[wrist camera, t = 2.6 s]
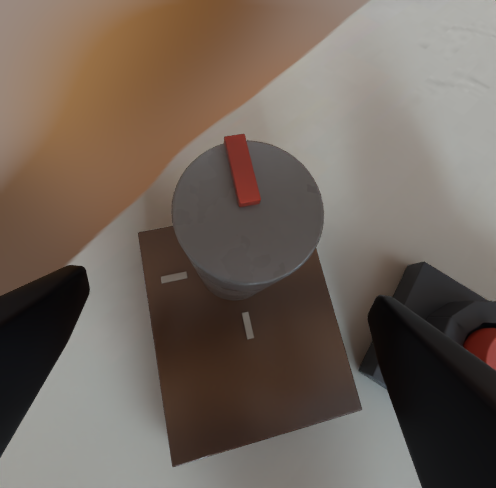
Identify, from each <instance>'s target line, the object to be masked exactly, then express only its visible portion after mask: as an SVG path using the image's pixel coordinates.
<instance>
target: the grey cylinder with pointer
mask: <svg viewBox="0 0 496 488" xmlns="http://www.w3.org/2000/svg"><path fill="white" fill-rule="evenodd" d="M172 222H173V227H174V231H175V234H176V236H177V239H178V241H179V243H180V245H181V246H182V248H183V250H184V252H185V253H186V255H187V257H188V258H189V260H190V261H191V263H192V265H193V266H194V268H195V270H196V271H197V273H198V275H199V276H200V278H201V280H202V281H203V283H204V284H205V286H206V287H207V288H208V289H209V290H210V291H211V292H212V293H213V294H214V295H216V296H218V297H220V298H222V299H226V300H232V301H235V300H243V299H246V298H249V297H251V296H253V295H254V294H256V293H258V292H260V291H262V290H263V289H265V288H267V287H269V286H271V285H272V284H274V283H276V282H278V281H280V280H281V279H283V278H285V277H287V276H288V275H290V274H292V273H293V272H295V271H296V270H297V269H299V268H300V267H301V266H302V265H303V264H304V263H305V262H306V261H307V260H308V259H309V258H310V256H311V255H312V253H313V252H314V250H315V248H316V246H317V244H318V242H319V240H320V237H321V234H322V229H323V223H324V209H323V202H322V198H321V194H320V191H319V189H318V186H317V184H316V182H315V180H314V178H313V177H312V175H311V174H310V173H309V171H308V170H307V169H306V168H305V167H304V165H303V164H302V163H301V162H299V161H298V160H297V159H296V158H295V157H293V156H292V155H291V154H289V153H288V152H286V151H284V150H282V149H280V148H278V147H275V146H273V145H270V144H267V143H263V142H257V141H246V138H245V134H239V135H232V136H225V137H224V144H221V145H218V146H215V147H213V148H211V149H209V150H207V151H206V152H204V153H203V154H201V155H200V156H198V157H197V158H196V159H195V160H194V161H193V162H192V163H191V164H190V165H189V166H188V167H187V168H186V170H185V171H184V173H183V174H182V176H181V177H180V179H179V181H178V183H177V185H176V188H175V191H174V195H173V200H172Z"/></svg>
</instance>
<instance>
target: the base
mask: <svg viewBox="0 0 496 488" xmlns="http://www.w3.org/2000/svg"><path fill="white" fill-rule="evenodd" d="M138 237H139V243H140V250H141V257H142V264H143V271H144V277H145V284H146V291H147V298H148V305H149V311H150V318H151V325H152V332H153V339H154V345H155V352H156V359H157V366H158V373H159V379H160V386H161V393H162V400H163V407H164V413H165V420H166V427H167V434H168V441H169V447H170V454H171V461H172V466H173V467H176V466H179V465H182V464H186V463H189V462H192V461H196V460H199V459H202V458H205V457H209V456H212V455H215V454H219V453H222V452H225V451H229V450H232V449H235V448H238V447H242V446H245V445H248V444H252V443H255V442H258V441H261V440H265V439H268V438H271V437H275V436H278V435H281V434H285V433H288V432H291V431H294V430H298V429H301V428H304V427H308V426H311V425H314V424H317V423H321V422H324V421H327V420H331V419H334V418H337V417H341V416H344V415H347V414H350V413H354V412H357V411H360V410H362V407H361V403H360V400H359V397H358V393H357V390H356V386H355V383H354V379H353V376H352V372H351V369H350V365H349V362H348V358H347V355H346V351H345V348H344V344H343V341H342V337H341V334H340V330H339V327H338V323H337V320H336V316H335V313H334V309H333V306H332V302H331V299H330V295H329V292H328V288H327V285H326V281H325V278H324V274H323V271H322V267H321V264H320V260H319V257H318V253H317V250H316V248H315V250H314V252H313V253H312V255H311V256H310V258H309V259H308V260H307V261H306V262H305V263H304V264H303V265H302V266H301V267H300V268H299V269H297V270H296V271H295V272H293V273H292V274H290V275H288V276H287V277H285V278H283V279H281V280H280V281H278V282H276V283H274V284H272V285H271V286H269V287H267V288H265V289H263V290H262V291H260V292H258V293H256V294H254V295H253V296H251V297H249V298H246V299H243V300H235V301H232V300H226V299H222V298H220V297H218V296H216V295H214V294H213V293H212V292H211V291H210V290H209V289H208V288H207V287H206V286H205V284H204V283H203V281H202V280H201V278H200V276H199V275H198V273H197V271H196V270H195V268H194V266H193V265H192V263H191V261H190V260H189V258H188V257H187V255H186V253H185V252H184V250H183V248H182V246H181V245H180V243H179V241H178V239H177V236H176V234H175V231H174V227H173V226H170V227H165V228H160V229H154V230H149V231H143V232H139V233H138Z"/></svg>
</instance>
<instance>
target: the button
mask: <svg viewBox="0 0 496 488" xmlns="http://www.w3.org/2000/svg"><path fill="white" fill-rule="evenodd" d="M463 347H464V348H465V349H466V350H468V351H469V352H471V353H472V354H474V355H475V356H476V357H478V358H479V359H481V360H482V361H483V362H485V363H486V364H488V365H489V366H490V367H492V368H493V369H495V370H496V328H482V329H479V330H476V331H475V332H473V333H472V334H470V335H469V336H468V338H467V339H466V341H465V342H464V344H463Z"/></svg>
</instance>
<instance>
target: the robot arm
mask: <svg viewBox="0 0 496 488" xmlns="http://www.w3.org/2000/svg"><path fill="white" fill-rule="evenodd" d="M89 292H90V287H89V282H88V278H87V273H86V269H85V268H84V267H83V266H75V265H68V266H66V267H63V268H61V269H59V270H57V271H55V272H53V273H50V274H48V275H46V276H44V277H42V278H39V279H37V280H35V281H33V282H30V283H28V284H26V285H24V286H22V287H19V288H17V289H15V290H13V291H11V292H8V293H6V294H4V295H2V296H0V457H1V456H2V454H3V452H4V450H5V449H6V447H7V445H8V444H9V442H10V440H11V438H12V437H13V435H14V433H15V432H16V430H17V428H18V426H19V425H20V423H21V421H22V420H23V418H24V416H25V415H26V413H27V411H28V409H29V408H30V406H31V404H32V403H33V401H34V399H35V397H36V396H37V394H38V392H39V391H40V389H41V387H42V385H43V384H44V382H45V380H46V379H47V377H48V375H49V373H50V372H51V370H52V368H53V367H54V365H55V363H56V361H57V360H58V358H59V356H60V355H61V353H62V351H63V349H64V348H65V346H66V344H67V342H68V340H69V338H70V336H71V334H72V332H73V330H74V327H75V325H76V323H77V321H78V318H79V316H80V314H81V312H82V309H83V307H84V305H85V303H86V300H87V298H88V296H89ZM368 324H369V328H370V332H371V336H372V340H373V344H374V349H375V353H376V357H377V361H378V364H379V367H380V371H381V374H382V376H383V379H384V382H385V385H386V388H387V390H388V393H389V396H390V399H391V402H392V405H393V407H394V410H395V413H396V416H397V419H398V421H399V424H400V427H401V430H402V433H403V435H404V438H405V441H406V444H407V447H408V449H409V452H410V455H411V458H412V461H413V464H414V466H415V469H416V472H417V475H418V478H419V480H420V483H421V486H422V488H496V370H495V369H493V368H492V367H490V366H489V365H488V364H486V363H485V362H483V361H482V360H481V359H479V358H478V357H476V356H475V355H474V354H472V353H471V352H469V351H468V350H466V349H465V348H464V347H462V346H461V345H459V344H458V343H457V342H455V341H454V340H452V339H451V338H450V337H448V336H447V335H445V334H444V333H443V332H441V331H440V330H438V329H437V328H436V327H434V326H433V325H431V324H430V323H428V322H427V321H426V320H424V319H423V318H421V317H420V316H419V315H417V314H416V313H414V312H413V311H412V310H410V309H409V308H407V307H406V306H405V305H403V304H402V303H400V302H399V301H398V300H396V299H395V298H393V297H391V296H384V295H379V296H377V297H376V299H375V301H374V303H373V305H372V307H371V309H370V311H369V313H368Z"/></svg>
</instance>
